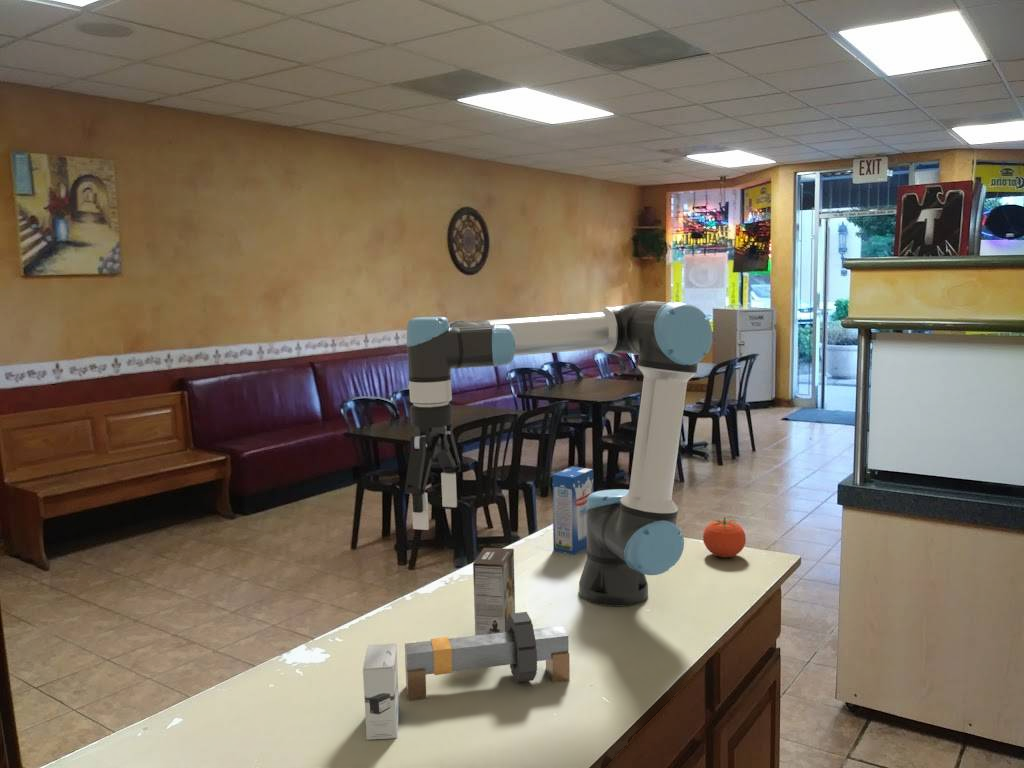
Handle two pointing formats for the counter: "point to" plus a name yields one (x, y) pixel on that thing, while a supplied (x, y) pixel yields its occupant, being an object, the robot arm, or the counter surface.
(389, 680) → the ink box
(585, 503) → the milk carton
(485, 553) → the coffee box
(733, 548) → the tomato
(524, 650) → the gray octagonal collar
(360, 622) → the counter surface
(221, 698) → the counter surface
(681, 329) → the robot arm
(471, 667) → the pipe
